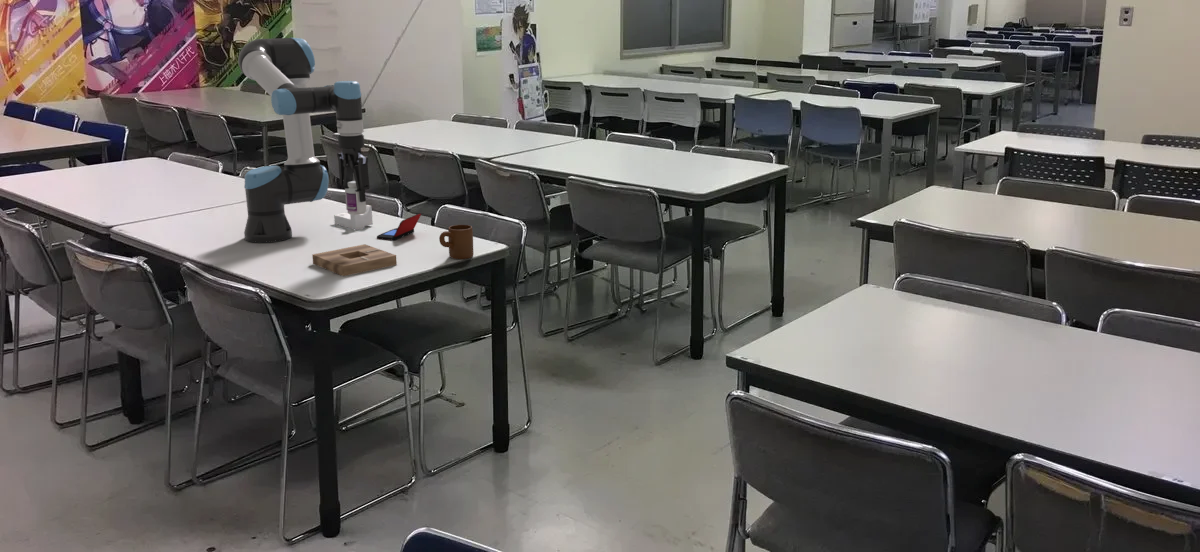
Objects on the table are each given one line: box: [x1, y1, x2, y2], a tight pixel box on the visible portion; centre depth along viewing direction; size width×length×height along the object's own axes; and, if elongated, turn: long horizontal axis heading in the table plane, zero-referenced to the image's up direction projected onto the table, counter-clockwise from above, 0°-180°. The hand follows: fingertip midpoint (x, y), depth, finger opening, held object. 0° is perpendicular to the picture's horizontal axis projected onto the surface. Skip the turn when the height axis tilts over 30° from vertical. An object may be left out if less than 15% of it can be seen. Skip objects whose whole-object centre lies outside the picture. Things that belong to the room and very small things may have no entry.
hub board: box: [312, 244, 398, 277], centre depth 292 cm, size 18×18×3 cm
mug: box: [439, 224, 474, 260], centre depth 299 cm, size 12×8×9 cm, turn 138°
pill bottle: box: [345, 180, 365, 215], centre depth 292 cm, size 5×5×10 cm
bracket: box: [333, 204, 374, 231], centre depth 340 cm, size 13×7×8 cm, turn 47°
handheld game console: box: [376, 213, 422, 241], centre depth 326 cm, size 12×11×7 cm
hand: (356, 210), depth 293 cm, fingers closed on pill bottle, 5 cm apart
